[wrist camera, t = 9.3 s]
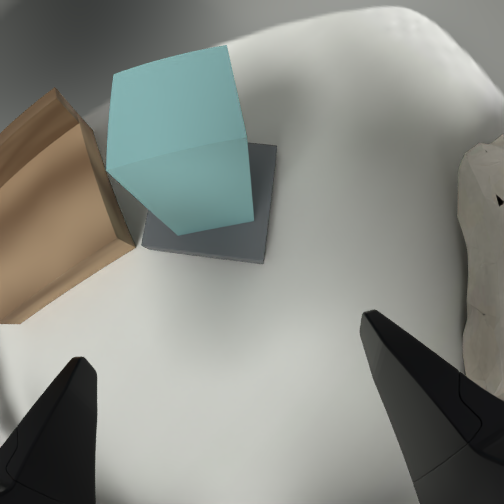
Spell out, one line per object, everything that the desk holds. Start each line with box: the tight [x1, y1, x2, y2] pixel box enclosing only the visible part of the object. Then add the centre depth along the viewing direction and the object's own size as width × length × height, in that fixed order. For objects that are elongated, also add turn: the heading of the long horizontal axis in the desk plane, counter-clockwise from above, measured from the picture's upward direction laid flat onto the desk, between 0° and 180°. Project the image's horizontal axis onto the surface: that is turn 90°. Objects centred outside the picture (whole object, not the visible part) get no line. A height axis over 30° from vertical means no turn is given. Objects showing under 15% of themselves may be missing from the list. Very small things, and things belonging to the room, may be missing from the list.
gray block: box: [141, 143, 277, 264], centre depth 16 cm, size 6×6×1 cm
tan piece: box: [0, 88, 136, 324], centre depth 14 cm, size 10×11×6 cm
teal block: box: [106, 45, 254, 236], centre depth 12 cm, size 4×4×8 cm
